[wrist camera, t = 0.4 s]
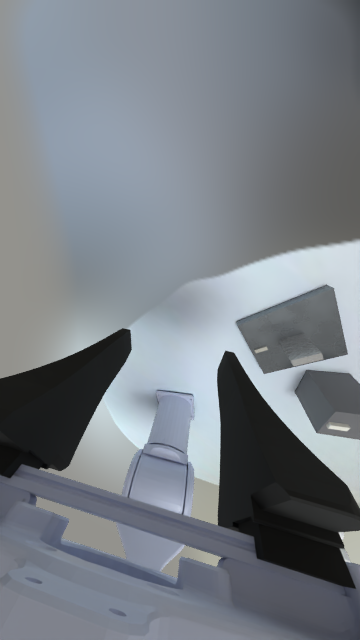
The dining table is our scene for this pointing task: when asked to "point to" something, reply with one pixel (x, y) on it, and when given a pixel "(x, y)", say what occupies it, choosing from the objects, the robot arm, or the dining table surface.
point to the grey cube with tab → (331, 403)
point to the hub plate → (296, 331)
